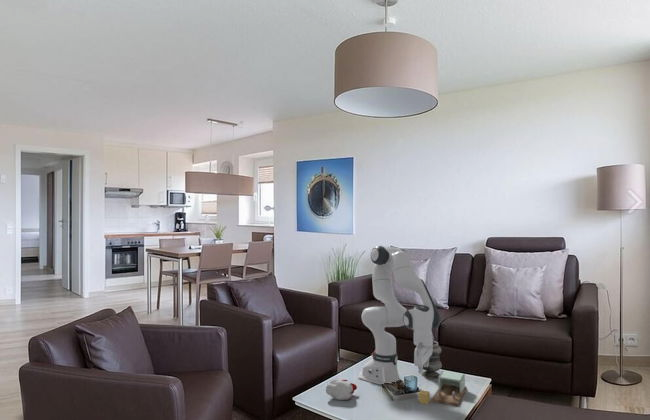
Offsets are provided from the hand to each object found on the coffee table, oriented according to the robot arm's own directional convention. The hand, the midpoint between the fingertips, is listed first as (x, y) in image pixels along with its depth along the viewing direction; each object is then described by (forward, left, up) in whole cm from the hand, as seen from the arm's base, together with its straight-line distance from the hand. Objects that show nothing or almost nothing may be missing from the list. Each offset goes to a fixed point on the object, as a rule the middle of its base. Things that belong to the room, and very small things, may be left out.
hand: (423, 369), depth 199 cm
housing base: (+9, +13, -15) cm, 22 cm away
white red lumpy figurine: (-36, -13, -15) cm, 41 cm away
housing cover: (+9, +18, -14) cm, 24 cm away
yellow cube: (0, 0, -15) cm, 15 cm away
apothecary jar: (-6, +35, -15) cm, 39 cm away
